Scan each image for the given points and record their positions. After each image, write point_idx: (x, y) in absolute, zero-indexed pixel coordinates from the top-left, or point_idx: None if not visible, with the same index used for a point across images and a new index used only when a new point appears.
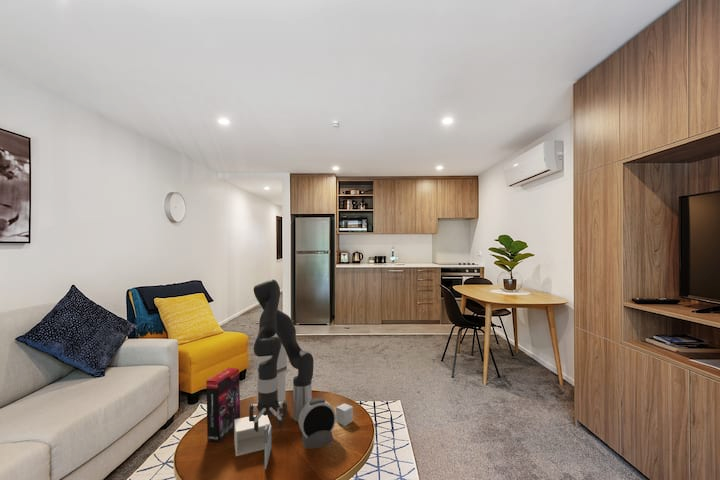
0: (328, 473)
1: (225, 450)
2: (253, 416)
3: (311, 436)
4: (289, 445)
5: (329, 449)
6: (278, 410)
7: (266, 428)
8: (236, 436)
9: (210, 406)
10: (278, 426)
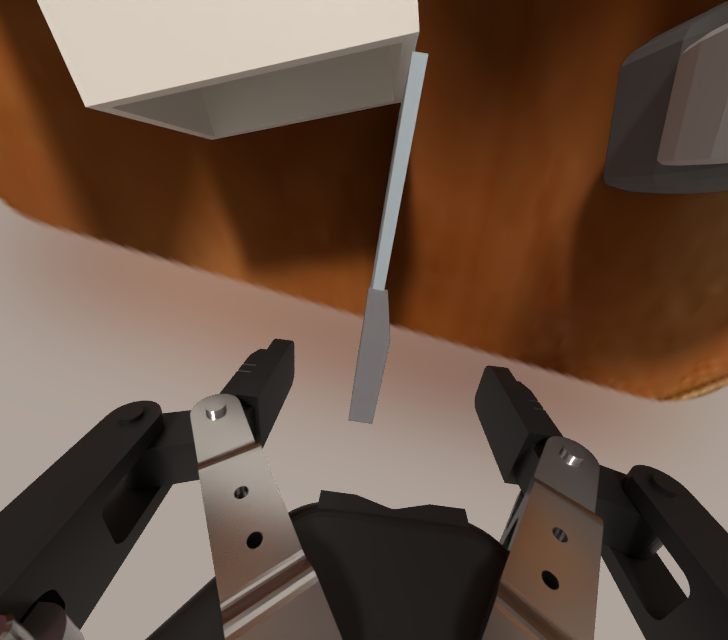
0: (606, 387)
1: None
2: (158, 448)
3: (703, 177)
4: (521, 110)
5: (718, 231)
6: (594, 534)
7: (368, 410)
8: (127, 115)
9: None
10: (484, 426)
